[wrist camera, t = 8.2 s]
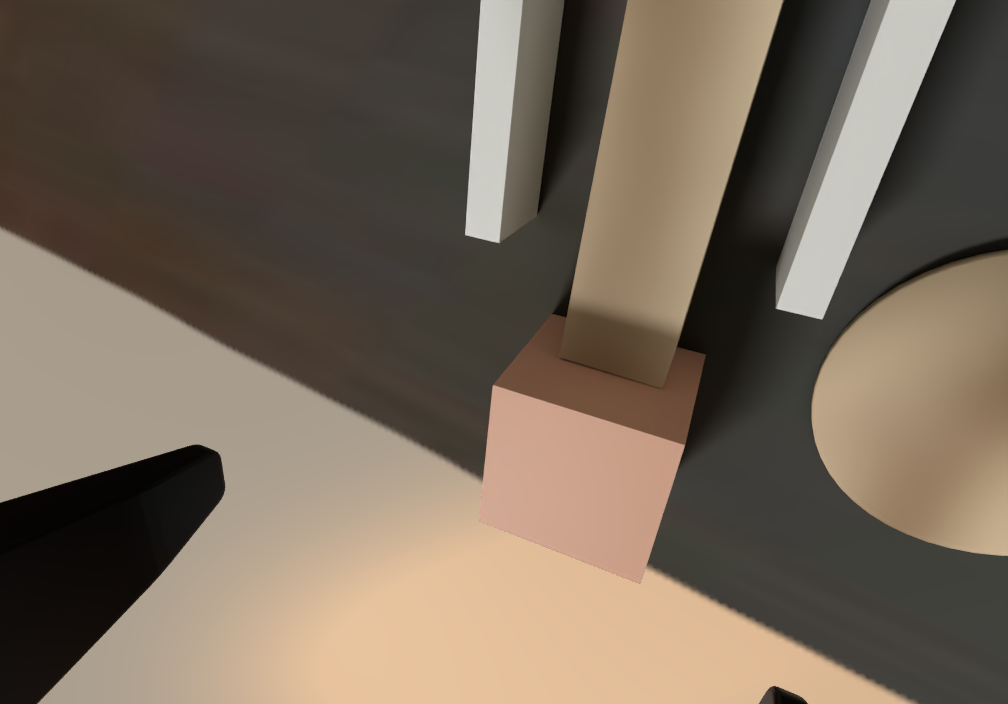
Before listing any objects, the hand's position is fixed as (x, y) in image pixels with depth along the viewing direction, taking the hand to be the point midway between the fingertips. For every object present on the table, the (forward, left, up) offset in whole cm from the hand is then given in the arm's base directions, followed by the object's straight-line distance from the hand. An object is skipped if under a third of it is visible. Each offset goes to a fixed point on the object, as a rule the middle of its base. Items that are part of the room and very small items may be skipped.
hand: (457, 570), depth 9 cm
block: (0, +4, -12) cm, 12 cm away
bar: (-1, -4, -12) cm, 12 cm away
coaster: (-10, 0, -11) cm, 15 cm away
